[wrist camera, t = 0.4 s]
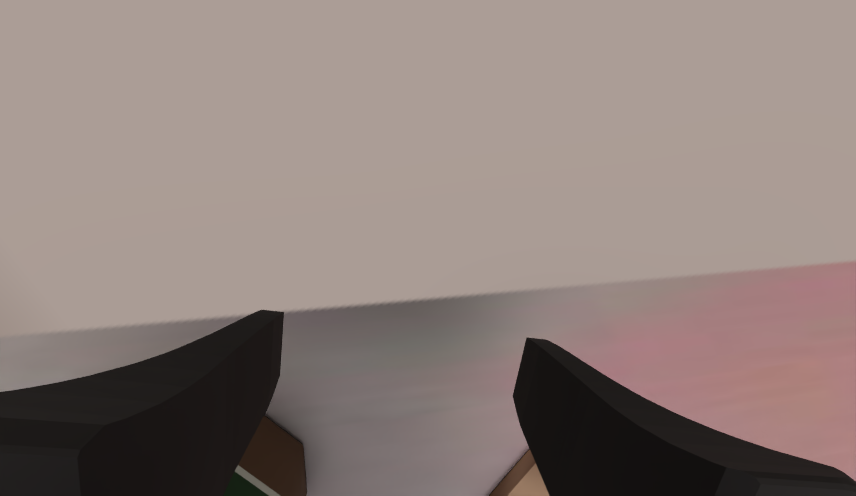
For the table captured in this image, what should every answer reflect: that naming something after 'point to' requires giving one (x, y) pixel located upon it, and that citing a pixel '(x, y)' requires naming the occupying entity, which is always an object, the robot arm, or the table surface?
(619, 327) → the table surface
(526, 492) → the wooden puzzle board
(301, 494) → the beer bottle
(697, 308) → the table surface
